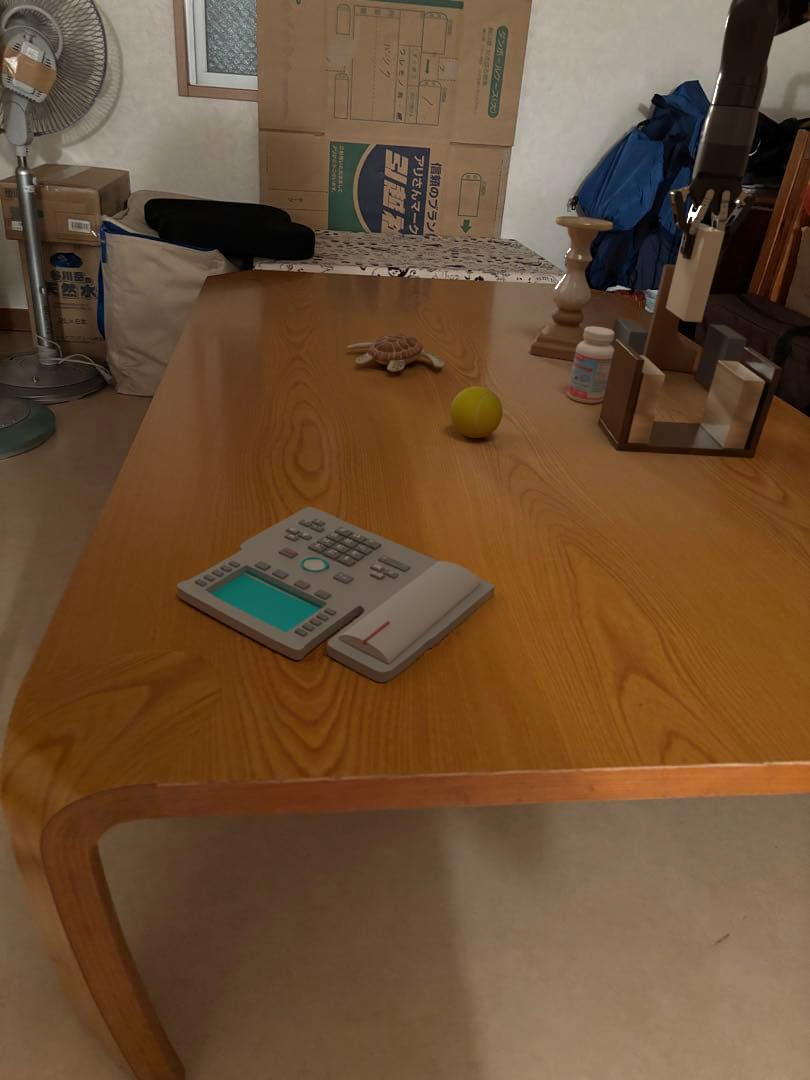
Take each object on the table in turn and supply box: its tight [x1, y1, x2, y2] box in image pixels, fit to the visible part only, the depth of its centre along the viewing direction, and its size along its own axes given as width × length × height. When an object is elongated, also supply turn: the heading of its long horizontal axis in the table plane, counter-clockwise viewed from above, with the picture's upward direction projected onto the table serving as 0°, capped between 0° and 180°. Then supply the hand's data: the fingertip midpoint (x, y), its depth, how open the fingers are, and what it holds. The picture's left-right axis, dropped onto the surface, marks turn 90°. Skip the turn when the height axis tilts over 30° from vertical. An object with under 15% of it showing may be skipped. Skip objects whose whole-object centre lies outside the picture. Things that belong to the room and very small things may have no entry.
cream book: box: [666, 222, 725, 323], centre depth 128 cm, size 3×9×14 cm, turn 2°
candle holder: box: [529, 215, 614, 362], centre depth 145 cm, size 11×11×24 cm
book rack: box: [597, 339, 783, 459], centre depth 110 cm, size 20×10×13 cm, turn 93°
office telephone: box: [176, 505, 496, 683], centre depth 71 cm, size 23×3×20 cm
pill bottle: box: [567, 325, 614, 405], centre depth 124 cm, size 6×6×11 cm
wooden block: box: [643, 263, 698, 374], centre depth 142 cm, size 9×4×18 cm, turn 77°
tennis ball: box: [449, 385, 503, 439], centre depth 107 cm, size 7×7×7 cm
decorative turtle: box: [346, 332, 445, 373], centre depth 135 cm, size 18×17×5 cm
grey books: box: [610, 317, 748, 392], centre depth 135 cm, size 20×9×10 cm, turn 93°
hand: (697, 258), depth 126 cm, fingers closed on cream book, 3 cm apart
